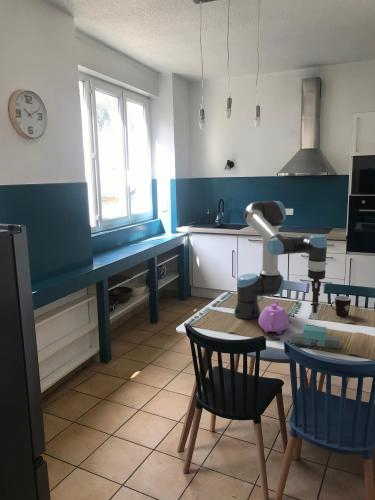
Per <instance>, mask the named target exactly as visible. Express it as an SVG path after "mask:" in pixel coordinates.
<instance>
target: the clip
mask: <svg viewBox="0 0 375 500" xmlns="http://www.w3.org/2000/svg"><path fill="white" fill-rule="evenodd" d="M302 331H303V333H302V334H303V338H304V341H305V344H306V345H310V342H311V339H317V341H318V342H319V346H323V345H324V343H325V340H326V336H327V326H319V325H318V326H316V325H315V326H314V325H303V330H302ZM306 345H305V346H306Z"/></svg>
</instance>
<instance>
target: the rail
mask: <svg viewBox="0 0 375 500" xmlns="http://www.w3.org/2000/svg"><path fill="white" fill-rule="evenodd" d="M340 341H341V340H340V337H339V336H329V335H326V340H324V345H323V346H319V341H318V339H310V345H306V344H305V338H303V333H301V332H300V333H299V332H290V333H289V343H290V342H291V343H292V344H291V345H297V346H299V345H300V346H309V347H318V348H325V349H335V350H339V349H340V344H341V343H340Z"/></svg>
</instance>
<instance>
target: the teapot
mask: <svg viewBox="0 0 375 500" xmlns="http://www.w3.org/2000/svg"><path fill="white" fill-rule="evenodd" d="M258 325H259V326H260V328H262V329H263V333H264V332H265V334H268V333H270V332H275V333H276V334H277V335H282V334H283V332H284V331H286V329H288V328H289V326H290V318H289V316H288V313H287V312H286V310H285V309H284V307H282V306H280V305H279V299H278V298H274V302H273V303H271V305H267V306H265V307H264V308H263V310H262V311H261V314H260V317H259V318H258Z"/></svg>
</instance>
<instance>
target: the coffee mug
mask: <svg viewBox="0 0 375 500" xmlns="http://www.w3.org/2000/svg"><path fill="white" fill-rule="evenodd" d="M351 302H352V298H351V297H349V296H345V295H337V296H334V301H332V302H331V303H330V308H331V309H332V310H334V311H335V315H336V316H337V317H339V316H340V318H347V317H349V313H350V308H351ZM334 303H335V304H334ZM333 305H334V306H335V308H334V307H333Z"/></svg>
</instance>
